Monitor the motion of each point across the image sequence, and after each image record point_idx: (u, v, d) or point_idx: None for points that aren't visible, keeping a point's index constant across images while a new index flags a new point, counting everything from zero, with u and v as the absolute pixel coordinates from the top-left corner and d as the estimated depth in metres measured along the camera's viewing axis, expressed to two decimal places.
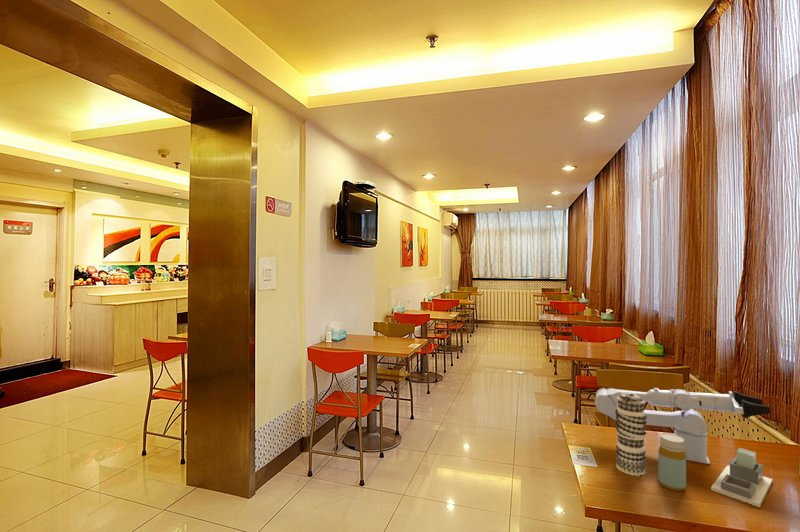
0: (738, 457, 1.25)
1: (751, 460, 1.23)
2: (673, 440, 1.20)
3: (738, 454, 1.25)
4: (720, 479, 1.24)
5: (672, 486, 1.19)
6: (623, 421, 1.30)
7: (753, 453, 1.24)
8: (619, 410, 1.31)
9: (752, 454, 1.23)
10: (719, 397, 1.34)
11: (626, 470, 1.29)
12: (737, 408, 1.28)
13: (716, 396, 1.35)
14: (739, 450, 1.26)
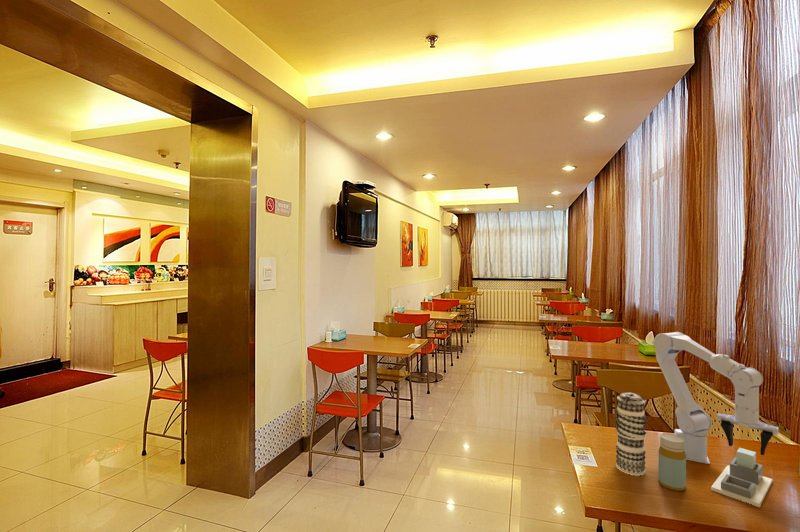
0: (738, 457, 1.25)
1: (751, 460, 1.23)
2: (673, 440, 1.20)
3: (738, 454, 1.25)
4: (720, 479, 1.24)
5: (672, 486, 1.19)
6: (623, 421, 1.30)
7: (753, 453, 1.24)
8: (619, 410, 1.31)
9: (752, 454, 1.23)
10: (737, 411, 1.25)
11: (626, 470, 1.29)
12: (717, 416, 1.30)
13: (739, 409, 1.24)
14: (739, 450, 1.26)
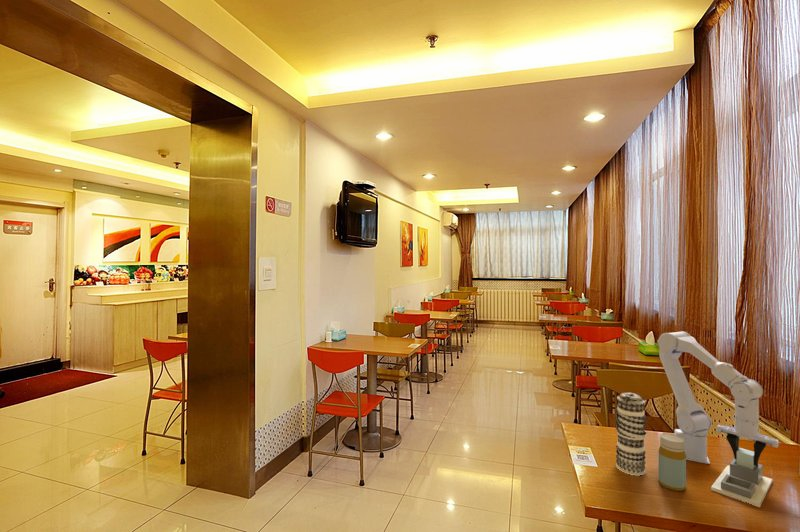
0: (738, 457, 1.25)
1: (751, 460, 1.23)
2: (673, 440, 1.20)
3: (738, 454, 1.25)
4: (720, 479, 1.24)
5: (672, 486, 1.19)
6: (623, 421, 1.30)
7: (753, 453, 1.24)
8: (619, 410, 1.31)
9: (752, 454, 1.23)
10: (737, 423, 1.25)
11: (626, 470, 1.29)
12: (717, 427, 1.30)
13: (739, 421, 1.24)
14: (739, 450, 1.26)
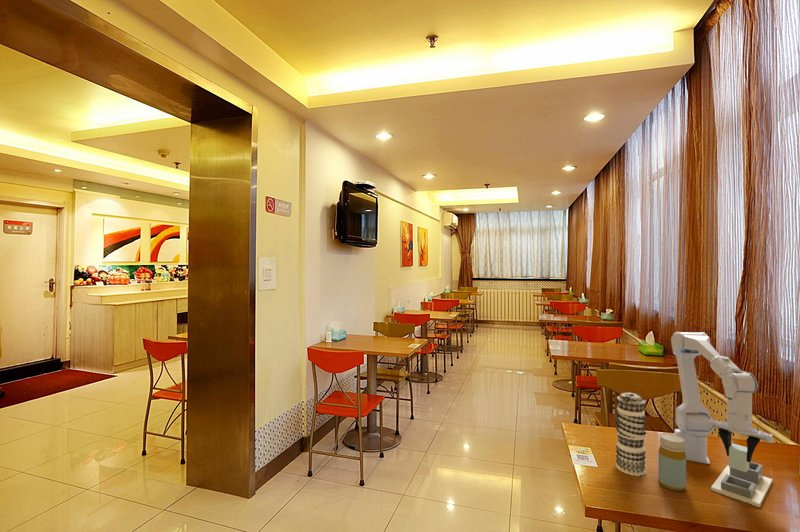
0: (731, 453, 1.18)
1: (744, 456, 1.16)
2: (673, 440, 1.20)
3: (731, 450, 1.18)
4: (720, 479, 1.24)
5: (672, 486, 1.19)
6: (623, 421, 1.30)
7: (746, 449, 1.17)
8: (619, 410, 1.31)
9: (745, 450, 1.17)
10: (729, 417, 1.18)
11: (626, 470, 1.29)
12: (708, 422, 1.23)
13: (731, 415, 1.18)
14: (732, 446, 1.19)
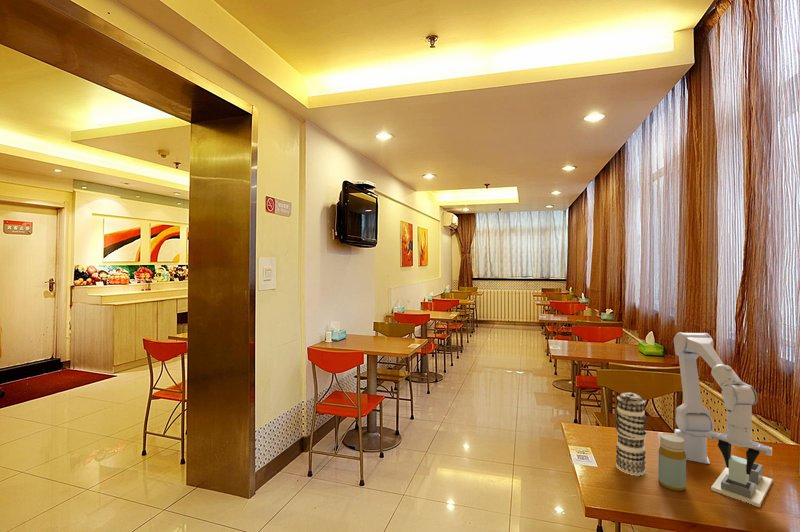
0: (730, 465, 1.18)
1: (744, 469, 1.16)
2: (673, 440, 1.20)
3: (730, 462, 1.18)
4: (720, 479, 1.24)
5: (672, 486, 1.19)
6: (623, 421, 1.30)
7: (746, 461, 1.17)
8: (619, 410, 1.31)
9: (745, 462, 1.17)
10: (729, 429, 1.18)
11: (626, 470, 1.29)
12: (708, 433, 1.23)
13: (730, 427, 1.18)
14: (731, 458, 1.19)
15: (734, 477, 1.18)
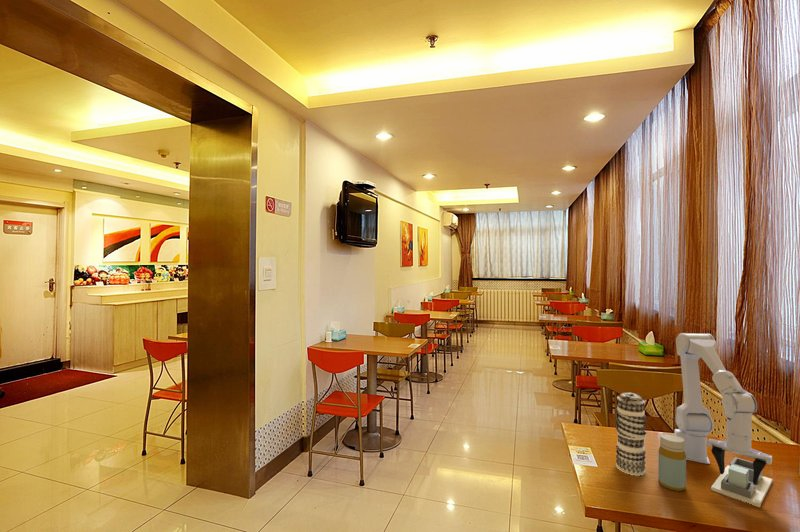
0: (730, 475, 1.18)
1: (743, 478, 1.16)
2: (673, 440, 1.20)
3: (730, 471, 1.18)
4: (720, 479, 1.24)
5: (672, 486, 1.19)
6: (623, 421, 1.30)
7: (746, 470, 1.17)
8: (619, 410, 1.31)
9: (745, 472, 1.17)
10: (729, 437, 1.18)
11: (626, 470, 1.29)
12: (708, 441, 1.23)
13: (730, 435, 1.18)
14: (731, 467, 1.19)
15: None
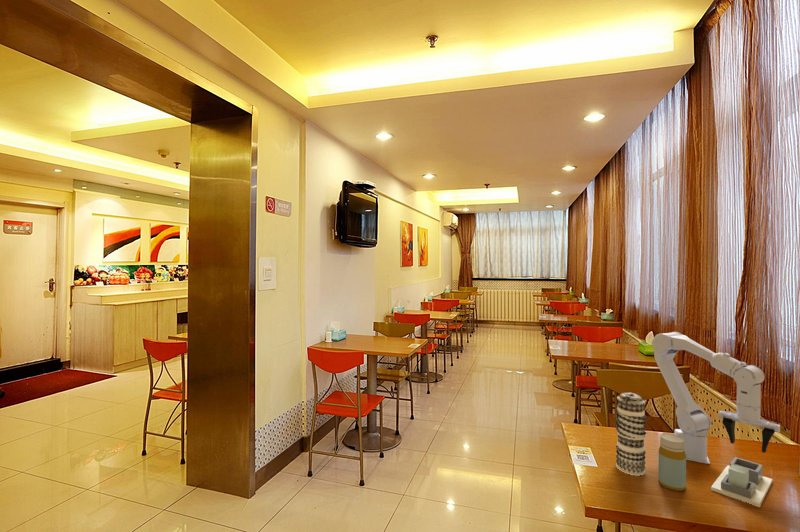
0: (730, 475, 1.18)
1: (743, 478, 1.16)
2: (673, 440, 1.20)
3: (730, 471, 1.18)
4: (720, 479, 1.24)
5: (672, 486, 1.19)
6: (623, 421, 1.30)
7: (746, 470, 1.17)
8: (619, 410, 1.31)
9: (745, 472, 1.17)
10: (739, 408, 1.25)
11: (626, 470, 1.29)
12: (719, 413, 1.30)
13: (740, 406, 1.25)
14: (731, 467, 1.19)
15: None
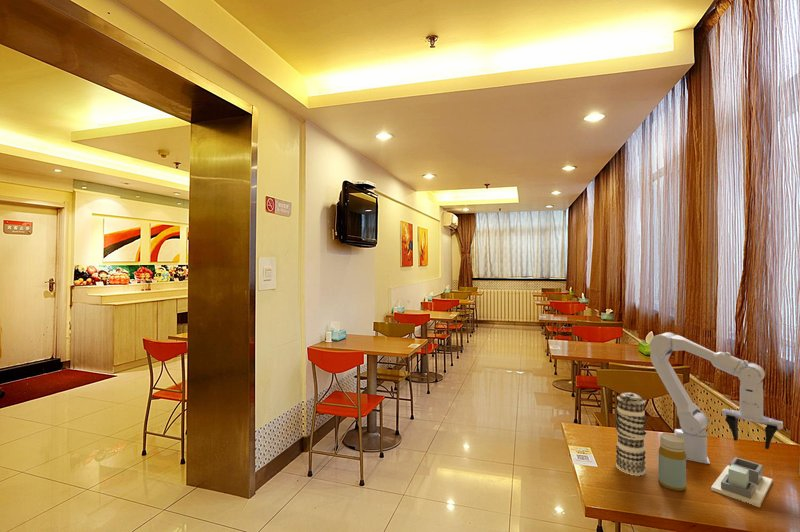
0: (730, 475, 1.18)
1: (743, 478, 1.16)
2: (673, 440, 1.20)
3: (730, 471, 1.18)
4: (720, 479, 1.24)
5: (672, 486, 1.19)
6: (623, 421, 1.30)
7: (746, 470, 1.17)
8: (619, 410, 1.31)
9: (745, 472, 1.17)
10: (742, 406, 1.27)
11: (626, 470, 1.29)
12: (722, 411, 1.32)
13: (743, 404, 1.27)
14: (731, 467, 1.19)
15: None
